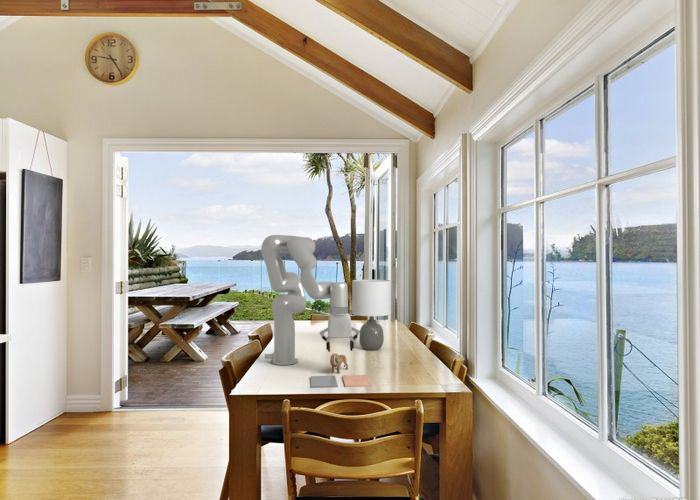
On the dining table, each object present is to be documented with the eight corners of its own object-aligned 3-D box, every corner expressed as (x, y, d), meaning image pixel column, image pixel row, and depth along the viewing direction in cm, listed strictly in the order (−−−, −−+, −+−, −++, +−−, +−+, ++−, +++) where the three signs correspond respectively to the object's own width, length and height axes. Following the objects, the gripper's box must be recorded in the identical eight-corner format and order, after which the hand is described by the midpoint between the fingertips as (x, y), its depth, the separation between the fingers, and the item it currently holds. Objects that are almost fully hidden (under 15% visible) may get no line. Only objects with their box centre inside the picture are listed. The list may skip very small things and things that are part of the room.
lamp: (345, 347, 271) (345, 280, 271) (377, 344, 281) (377, 279, 281) (364, 354, 253) (365, 282, 253) (398, 350, 263) (398, 281, 263)
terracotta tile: (345, 388, 191) (345, 385, 191) (342, 378, 207) (342, 375, 207) (371, 388, 191) (371, 385, 191) (366, 377, 207) (366, 374, 207)
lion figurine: (339, 376, 208) (339, 354, 208) (327, 375, 209) (327, 353, 210) (349, 368, 222) (349, 348, 222) (338, 367, 224) (338, 347, 224)
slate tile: (311, 389, 189) (311, 386, 189) (310, 379, 205) (310, 376, 205) (337, 388, 190) (337, 385, 190) (334, 378, 206) (334, 375, 206)
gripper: (319, 312, 210) (320, 353, 209) (360, 311, 211) (361, 351, 211) (318, 310, 217) (319, 350, 217) (358, 309, 219) (359, 348, 219)
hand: (340, 350), depth 214 cm, fingers open, 9 cm apart
